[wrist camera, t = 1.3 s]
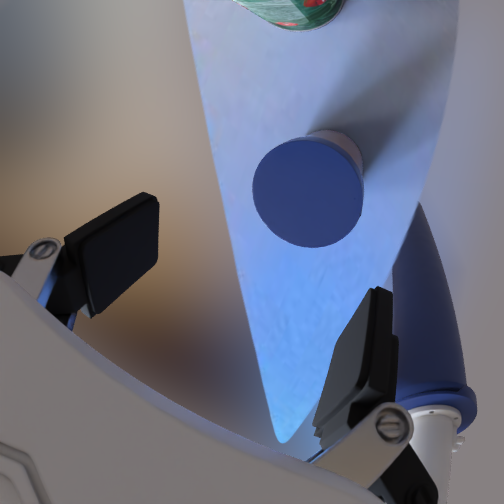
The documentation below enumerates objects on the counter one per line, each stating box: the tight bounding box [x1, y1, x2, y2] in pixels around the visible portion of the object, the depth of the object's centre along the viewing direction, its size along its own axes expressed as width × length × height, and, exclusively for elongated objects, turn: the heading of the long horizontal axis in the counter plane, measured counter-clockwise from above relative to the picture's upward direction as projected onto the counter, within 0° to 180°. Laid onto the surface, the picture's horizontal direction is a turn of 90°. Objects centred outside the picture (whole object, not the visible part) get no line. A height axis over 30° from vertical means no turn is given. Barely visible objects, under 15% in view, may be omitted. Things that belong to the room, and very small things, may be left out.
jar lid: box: [252, 137, 364, 248], centre depth 18 cm, size 7×7×2 cm
